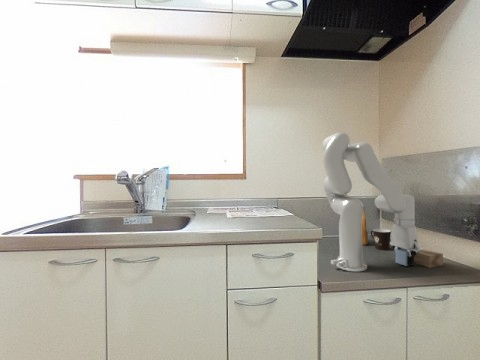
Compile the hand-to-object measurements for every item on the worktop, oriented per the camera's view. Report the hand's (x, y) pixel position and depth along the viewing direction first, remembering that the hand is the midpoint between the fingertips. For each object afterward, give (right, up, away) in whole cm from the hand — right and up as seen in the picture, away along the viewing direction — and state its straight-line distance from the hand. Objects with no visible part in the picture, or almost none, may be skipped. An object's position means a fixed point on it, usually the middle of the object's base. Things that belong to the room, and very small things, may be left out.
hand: (404, 262), depth 117 cm
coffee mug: (+4, -1, +26) cm, 27 cm away
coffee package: (-5, -1, +37) cm, 37 cm away
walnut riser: (+10, -1, 0) cm, 10 cm away
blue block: (0, -1, 0) cm, 1 cm away
